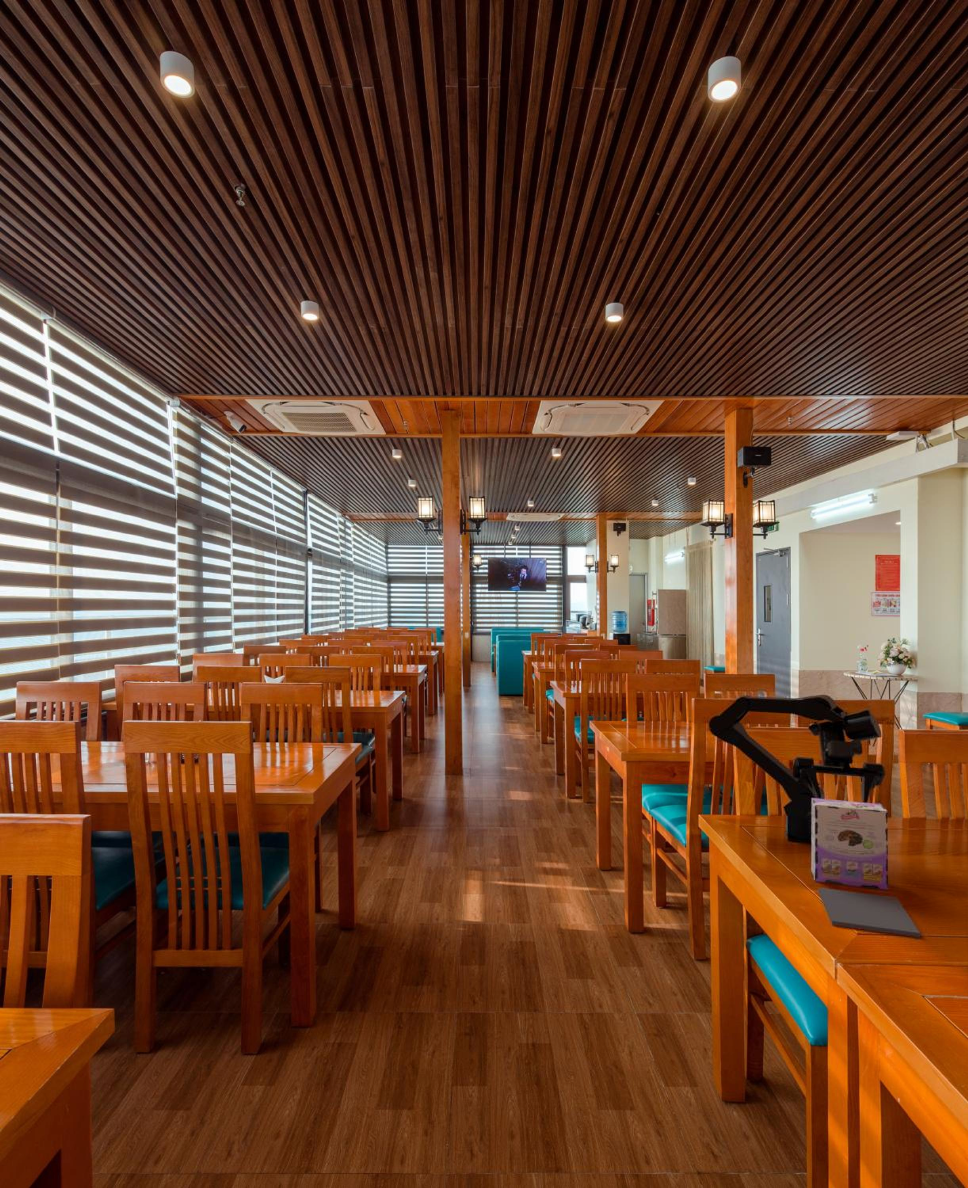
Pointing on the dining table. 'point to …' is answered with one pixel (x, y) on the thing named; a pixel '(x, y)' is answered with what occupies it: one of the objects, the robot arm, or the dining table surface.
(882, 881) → the candy box
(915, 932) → the mat
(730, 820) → the dining table surface
